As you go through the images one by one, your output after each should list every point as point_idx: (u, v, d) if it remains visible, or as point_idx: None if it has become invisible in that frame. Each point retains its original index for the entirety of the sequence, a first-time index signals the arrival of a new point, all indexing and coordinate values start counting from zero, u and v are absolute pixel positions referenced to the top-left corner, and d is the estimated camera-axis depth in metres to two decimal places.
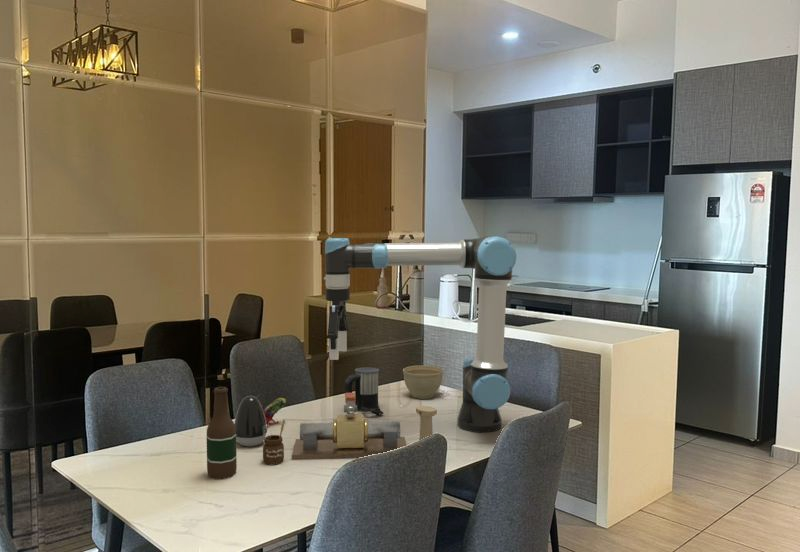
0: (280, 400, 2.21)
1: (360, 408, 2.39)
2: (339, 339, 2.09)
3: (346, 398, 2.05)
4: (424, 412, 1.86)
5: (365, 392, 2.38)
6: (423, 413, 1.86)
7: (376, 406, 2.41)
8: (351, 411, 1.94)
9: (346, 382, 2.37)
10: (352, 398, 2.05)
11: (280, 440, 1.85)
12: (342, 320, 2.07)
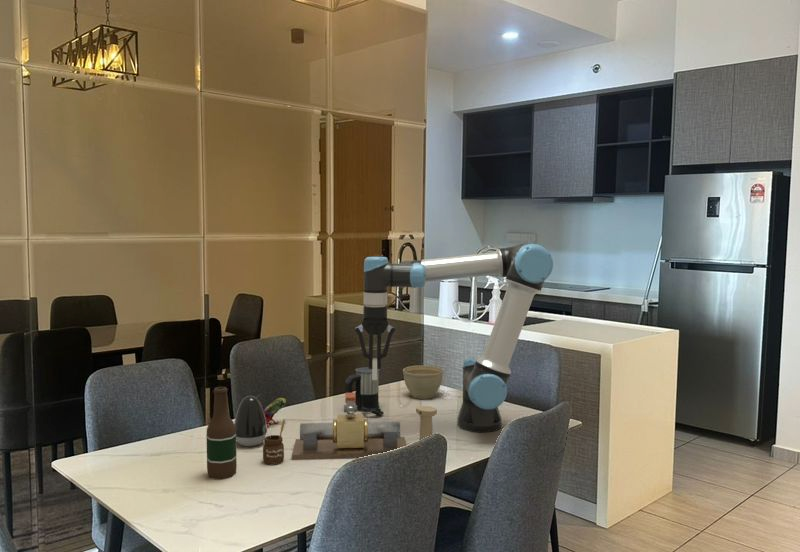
0: (280, 400, 2.21)
1: (360, 408, 2.39)
2: None
3: (346, 398, 2.05)
4: (424, 412, 1.86)
5: (366, 392, 2.38)
6: (423, 413, 1.86)
7: (376, 406, 2.40)
8: (351, 411, 1.94)
9: (346, 382, 2.37)
10: (352, 398, 2.05)
11: (280, 440, 1.85)
12: (377, 342, 2.05)
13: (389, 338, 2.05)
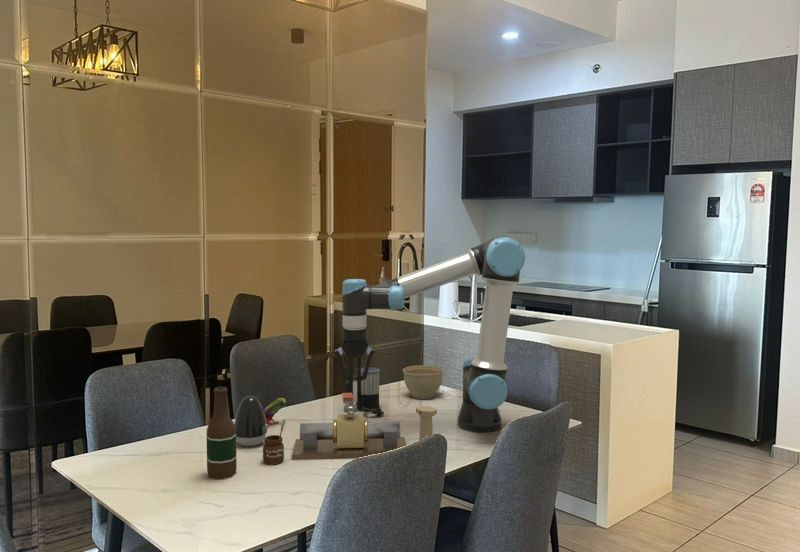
0: (280, 400, 2.21)
1: (361, 408, 2.39)
2: None
3: (344, 398, 2.04)
4: (424, 412, 1.86)
5: (366, 392, 2.38)
6: (423, 413, 1.86)
7: (377, 406, 2.40)
8: (351, 411, 1.94)
9: (347, 382, 2.37)
10: (350, 398, 2.05)
11: (280, 440, 1.85)
12: None
13: (369, 360, 2.05)
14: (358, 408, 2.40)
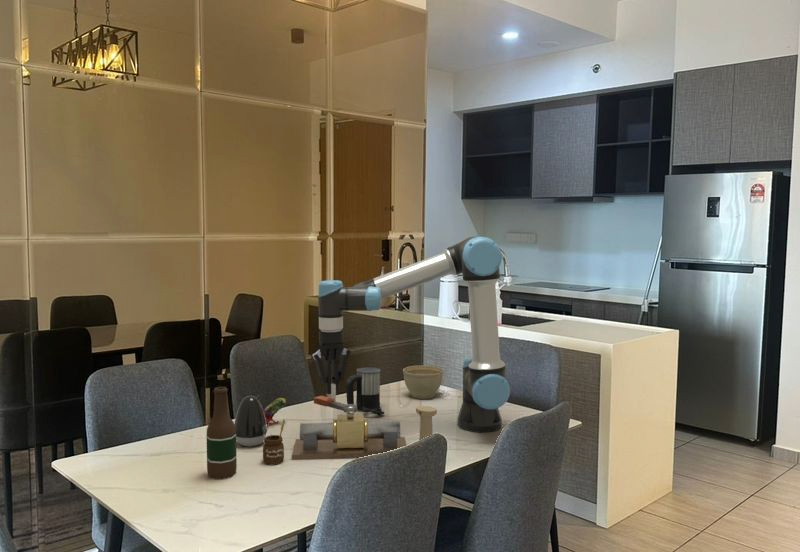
0: (280, 400, 2.21)
1: (361, 408, 2.39)
2: None
3: (327, 401, 2.01)
4: (424, 412, 1.86)
5: (367, 392, 2.38)
6: (423, 413, 1.86)
7: (377, 406, 2.40)
8: (355, 410, 1.95)
9: (347, 382, 2.36)
10: (331, 400, 2.02)
11: (280, 440, 1.85)
12: (334, 366, 2.04)
13: (345, 361, 2.05)
14: (359, 408, 2.39)
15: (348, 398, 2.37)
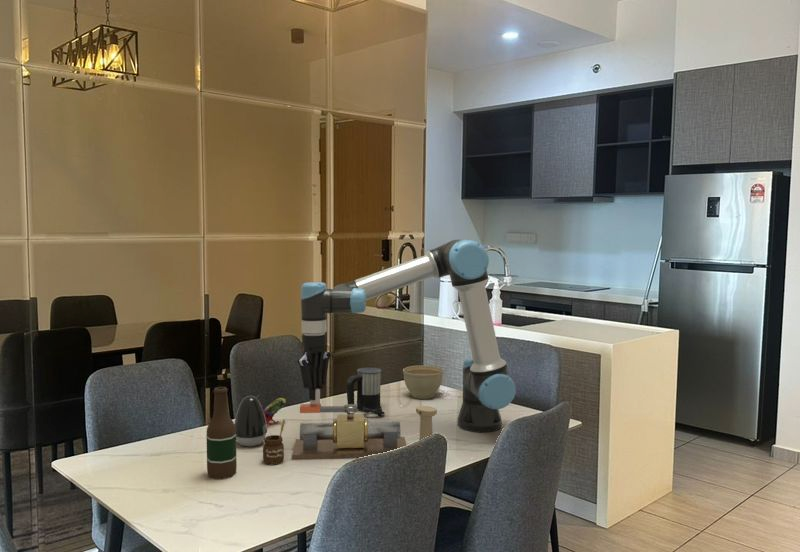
0: (280, 400, 2.21)
1: (362, 408, 2.38)
2: None
3: (320, 407, 1.94)
4: (424, 412, 1.86)
5: (367, 393, 2.38)
6: (423, 413, 1.86)
7: (378, 406, 2.40)
8: (356, 409, 1.96)
9: (348, 382, 2.36)
10: (320, 405, 1.96)
11: (280, 440, 1.85)
12: (317, 371, 1.98)
13: (327, 364, 2.00)
14: (359, 408, 2.39)
15: (349, 398, 2.36)
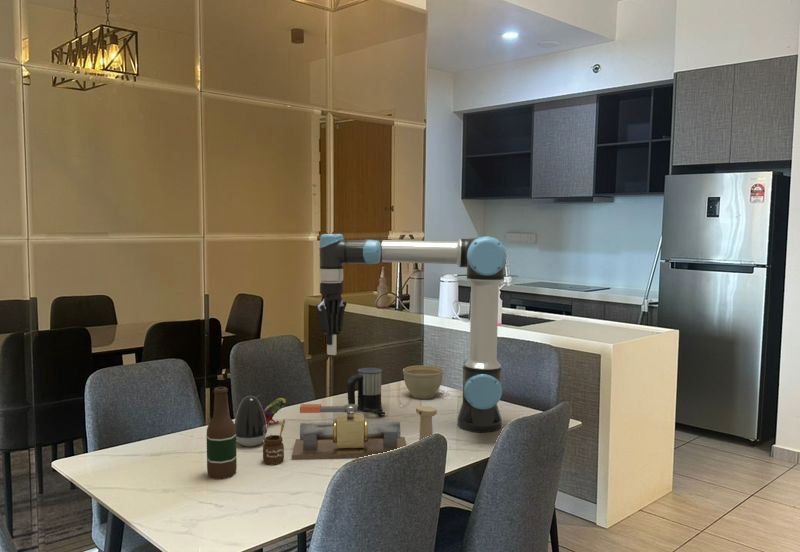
0: (280, 400, 2.21)
1: (363, 408, 2.38)
2: None
3: (320, 407, 1.94)
4: (424, 412, 1.86)
5: (368, 393, 2.37)
6: (423, 413, 1.86)
7: (379, 407, 2.40)
8: (356, 409, 1.96)
9: (349, 382, 2.36)
10: (320, 405, 1.96)
11: (280, 440, 1.85)
12: (334, 318, 2.10)
13: (343, 312, 2.12)
14: (360, 408, 2.39)
15: (349, 398, 2.36)
